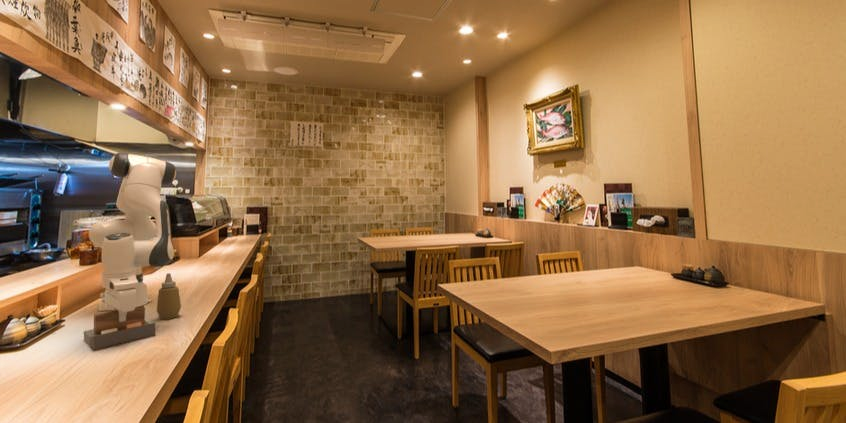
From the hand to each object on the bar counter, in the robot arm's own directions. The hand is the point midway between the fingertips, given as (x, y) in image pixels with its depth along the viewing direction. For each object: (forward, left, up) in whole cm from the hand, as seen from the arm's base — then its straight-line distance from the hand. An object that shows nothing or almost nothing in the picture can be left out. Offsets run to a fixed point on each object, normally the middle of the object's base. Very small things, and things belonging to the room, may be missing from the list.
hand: (120, 319), depth 120 cm
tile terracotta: (+2, +3, -4) cm, 6 cm away
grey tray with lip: (0, 0, -6) cm, 6 cm away
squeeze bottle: (-12, +18, -6) cm, 22 cm away
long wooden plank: (0, 0, -3) cm, 3 cm away
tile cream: (+3, -3, -4) cm, 6 cm away
